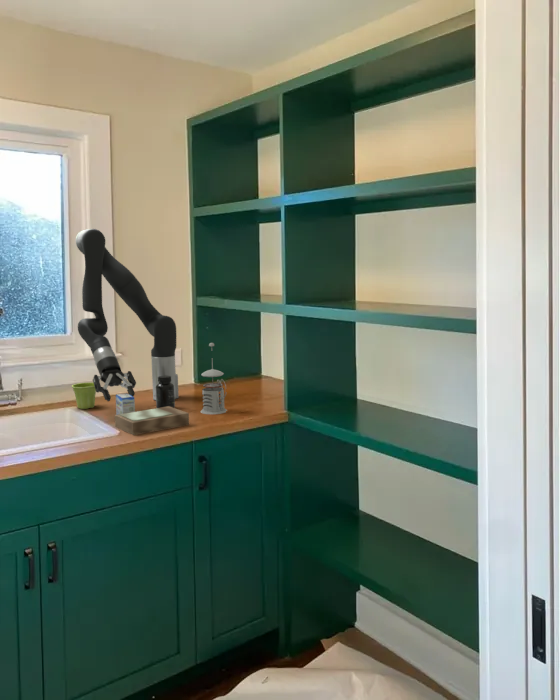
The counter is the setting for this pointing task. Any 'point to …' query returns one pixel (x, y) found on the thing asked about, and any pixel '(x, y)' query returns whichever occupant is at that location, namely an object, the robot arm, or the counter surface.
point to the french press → (213, 393)
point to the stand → (151, 420)
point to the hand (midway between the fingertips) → (121, 398)
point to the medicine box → (124, 403)
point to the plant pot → (84, 395)
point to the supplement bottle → (165, 392)
